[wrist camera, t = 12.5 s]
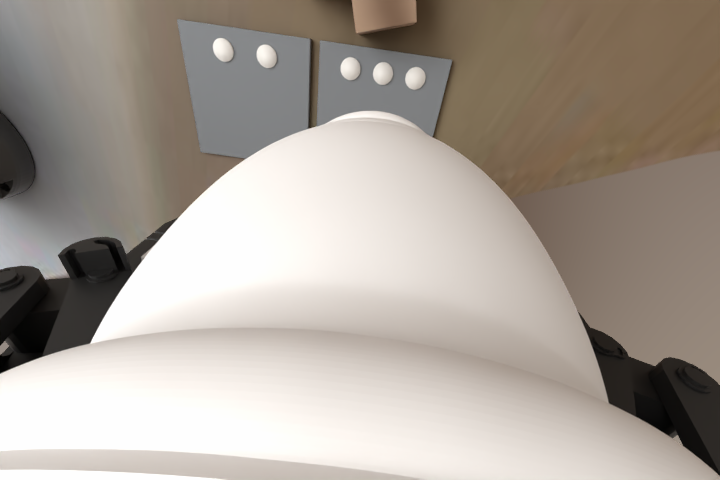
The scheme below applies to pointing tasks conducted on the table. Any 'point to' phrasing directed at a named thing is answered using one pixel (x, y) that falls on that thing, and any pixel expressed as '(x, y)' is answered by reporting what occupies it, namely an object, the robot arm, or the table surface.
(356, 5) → the walnut block
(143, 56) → the table surface
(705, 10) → the table surface
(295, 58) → the pad two
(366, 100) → the pad three
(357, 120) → the jar
